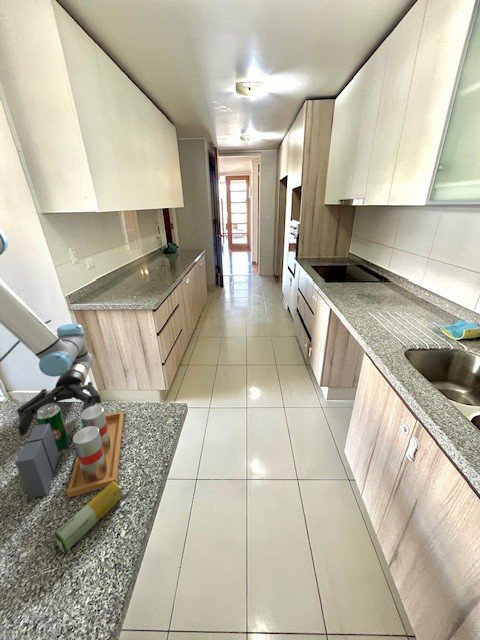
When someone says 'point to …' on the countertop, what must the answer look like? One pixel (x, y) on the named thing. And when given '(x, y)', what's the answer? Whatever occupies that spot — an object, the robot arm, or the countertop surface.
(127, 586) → the countertop surface
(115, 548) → the countertop surface
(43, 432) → the grey packets
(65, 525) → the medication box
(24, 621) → the countertop surface
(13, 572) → the countertop surface
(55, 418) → the soda can
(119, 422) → the can tray
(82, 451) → the matching cans
